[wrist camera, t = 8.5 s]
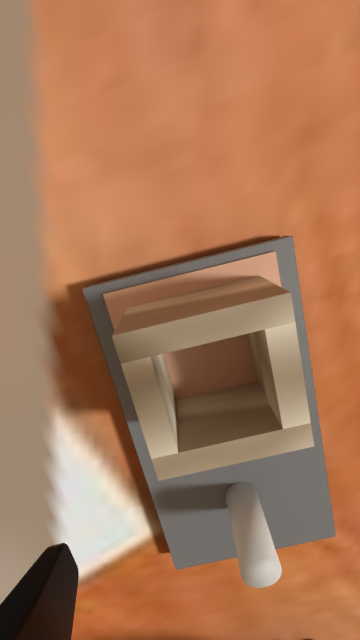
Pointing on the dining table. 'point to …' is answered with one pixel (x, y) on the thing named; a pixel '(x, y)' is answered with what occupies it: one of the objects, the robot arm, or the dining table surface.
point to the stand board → (211, 375)
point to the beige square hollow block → (226, 404)
